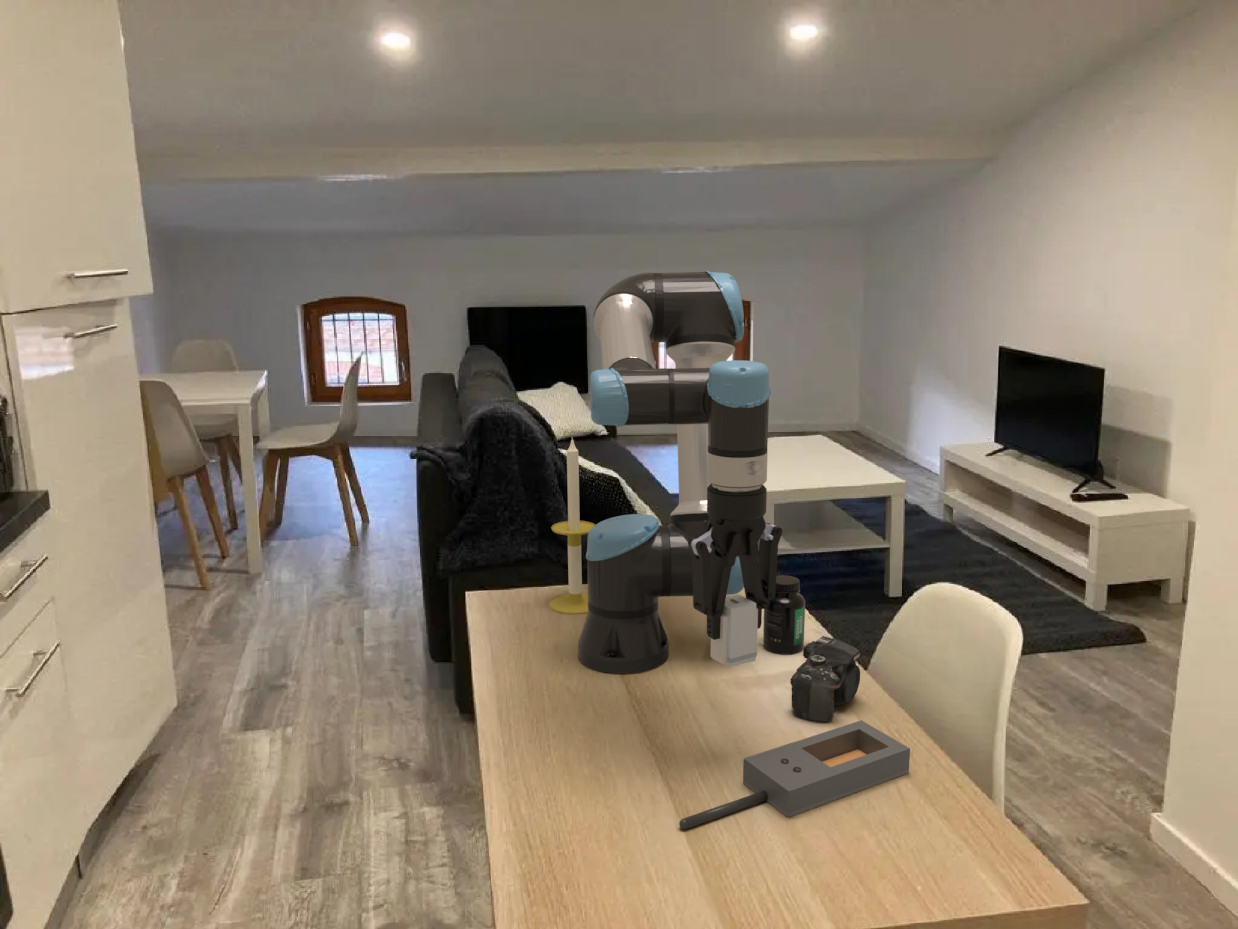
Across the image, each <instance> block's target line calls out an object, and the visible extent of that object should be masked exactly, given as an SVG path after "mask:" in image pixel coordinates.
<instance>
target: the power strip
mask: <svg viewBox="0 0 1238 929" xmlns="http://www.w3.org/2000/svg"><path fill="white" fill-rule="evenodd" d="M910 757H911V748H910V747H909V746H907V745H905V744H904V743H902V742H900V741H898V740H896V739H894V738H893V737H891V736H889V735H887V734H886V733H884V732H882V731H881V730H880V729H877V728H876V727H874V726H872V725H870V724H869V723H867V722H865V721H863V720H857V721H855V722H852V723H849V724H845V725H843V726H840V727H837V728H836V727H835V728H832V729H830V730H827V731H824V732H821V733H818V734H815V735H812V736H811V735H810V736H809V737H806V738H802V739H799V740H796V741H793V742H789V743H787V744H784V745H781V746H778V747H775V748H772V749H769V750H766V751H762V752H759V753H757V754H756V753H755V754H753V755H751V756H748V757H747V756H746V757H744V758H743V765H742V768H743V774H742V783H743V785H745V786H746V787H747V788H748V789H750V790H751V791H752V792H754V793H753V794H750V795H747V796H744V797H742V798H738V799H736V800H733V801H732V800H731V801H730V802H727V803H724V804H721V805H718V806H716V807H712V808H710V809H707V810H704V811H701V812H697V813H696V814H692V815H689V816H686V817H684V818H683V817H682V818H681V819H680V820H679V823H678V826H679V827H680V829H682V830H687V829H691V828H693V827H695V826H698V825H701V824H704V823H707V822H709V821H710V822H711V821H712V820H715V819H716V820H717V819H718V818H721V817H724V816H727V815H729V814H733V813H735V812H738V811H741V810H743V809H747V808H749V807H752V806H754V805H758V804H761V803H763V802H767V803H768V804H770V805H771V806H772V807H774V808H775V809H776V810H777V811H779V812H781V813H782V814H783V815H784V816H785V817H787V818H790V817H793V816H795V815H799V814H801V813H804V812H806V811H810V810H812V809H814V808H818V807H821V806H823V805H825V804H828V803H831V802H835V801H836V800H840V799H842V798H845V797H849V796H850V795H852V794H856V793H857V792H861V791H864V790H866V789H870V788H872V787H874V786H877V785H880V784H883V783H886V782H888V781H891V780H893V779H896V778H899V777H902V776H905V775H908V774H909V772H910Z"/></svg>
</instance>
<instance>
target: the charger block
mask: <svg viewBox="0 0 1238 929" xmlns="http://www.w3.org/2000/svg"><path fill="white" fill-rule="evenodd" d="M723 614H725V615H727V616H728V651H727V663H726V664H725V666H727V667H729V668H733V667H738V666H740V665H744V664H749V663H751V662H752V663H753V662H755V661H756V657H757V655H756V652H755V644H756V603H755V602H753V601H751V600H749V599H747V598H746V596H742V594H741V595H740V593H737V594H732V595H726V599H725V605H724V610H723Z"/></svg>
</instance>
